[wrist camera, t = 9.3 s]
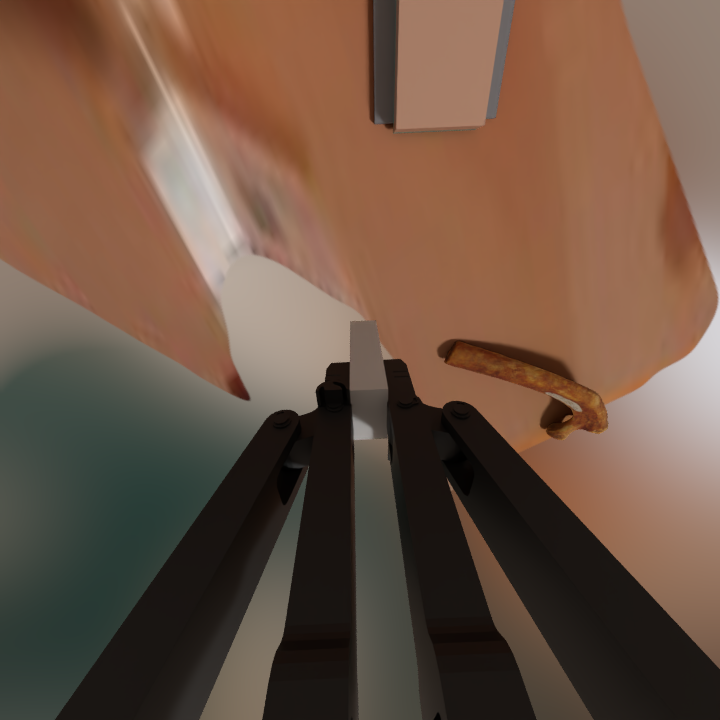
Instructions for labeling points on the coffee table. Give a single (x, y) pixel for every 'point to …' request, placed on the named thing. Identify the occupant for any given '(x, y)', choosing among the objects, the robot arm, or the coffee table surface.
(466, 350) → the brown curved bar
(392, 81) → the pad
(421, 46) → the tile
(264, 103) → the coffee table surface
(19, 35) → the coffee table surface
